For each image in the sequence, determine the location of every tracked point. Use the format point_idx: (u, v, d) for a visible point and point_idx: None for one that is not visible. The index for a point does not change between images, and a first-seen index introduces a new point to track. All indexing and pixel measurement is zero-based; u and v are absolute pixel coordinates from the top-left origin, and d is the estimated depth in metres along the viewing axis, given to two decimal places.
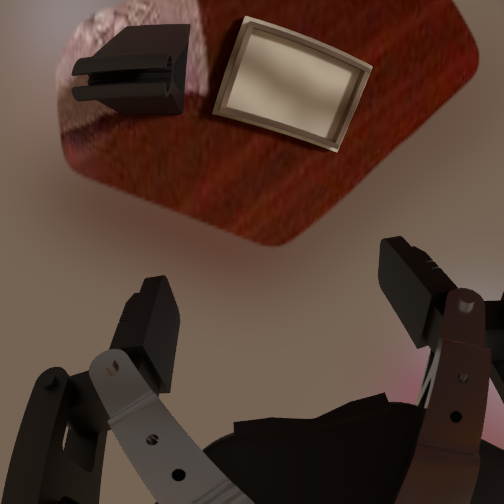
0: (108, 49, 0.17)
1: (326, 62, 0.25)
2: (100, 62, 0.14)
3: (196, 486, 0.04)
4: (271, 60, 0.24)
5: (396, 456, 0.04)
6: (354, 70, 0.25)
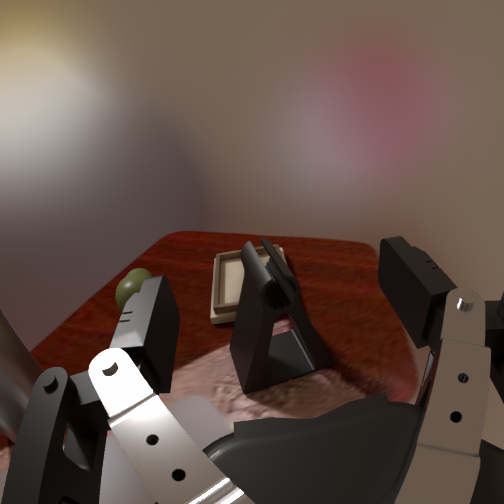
0: (256, 327, 0.24)
1: (225, 273, 0.42)
2: (256, 271, 0.23)
3: (196, 486, 0.04)
4: (239, 294, 0.38)
5: (396, 456, 0.04)
6: (223, 263, 0.45)
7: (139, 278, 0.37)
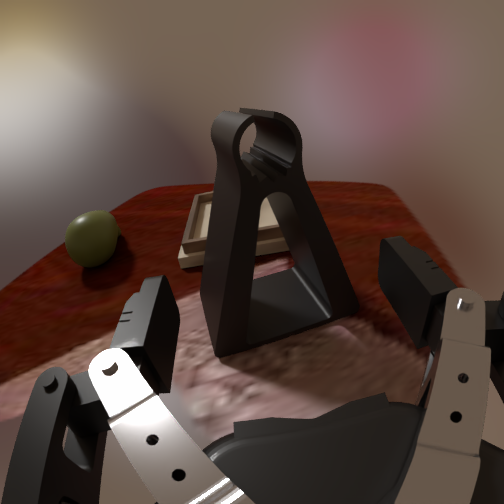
0: (230, 223, 0.14)
1: (204, 214, 0.33)
2: (229, 123, 0.13)
3: (196, 486, 0.04)
4: None
5: (396, 456, 0.04)
6: (202, 205, 0.35)
7: (95, 212, 0.28)
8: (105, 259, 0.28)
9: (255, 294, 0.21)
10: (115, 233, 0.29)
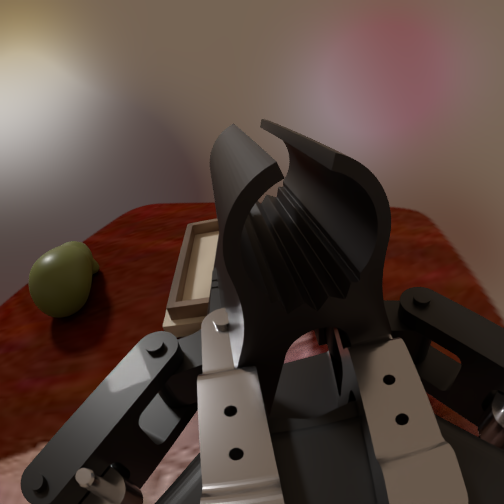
0: None
1: (199, 252, 0.25)
2: (229, 165, 0.06)
3: (245, 471, 0.04)
4: None
5: (360, 478, 0.04)
6: (197, 237, 0.28)
7: (62, 250, 0.21)
8: (76, 309, 0.21)
9: None
10: (87, 276, 0.22)
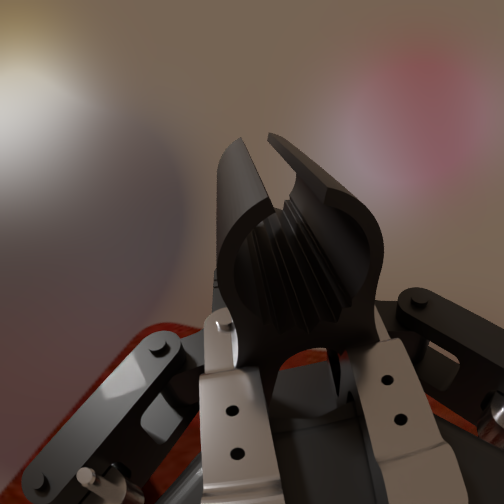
0: None
1: None
2: (228, 188, 0.06)
3: (246, 471, 0.04)
4: None
5: (359, 479, 0.04)
6: None
7: None
8: None
9: (275, 398, 0.14)
10: None
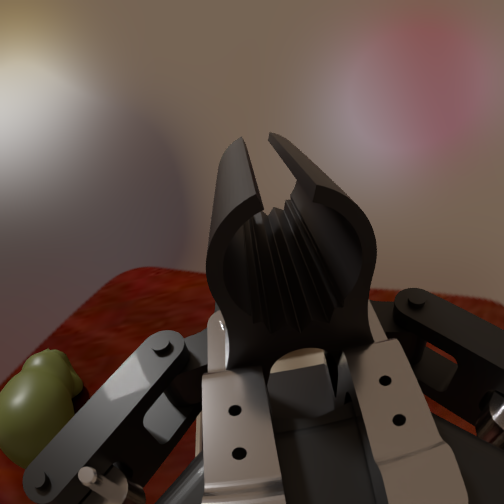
0: None
1: None
2: (223, 186, 0.06)
3: (248, 471, 0.04)
4: None
5: (358, 479, 0.04)
6: None
7: (26, 396, 0.12)
8: None
9: (274, 399, 0.14)
10: None
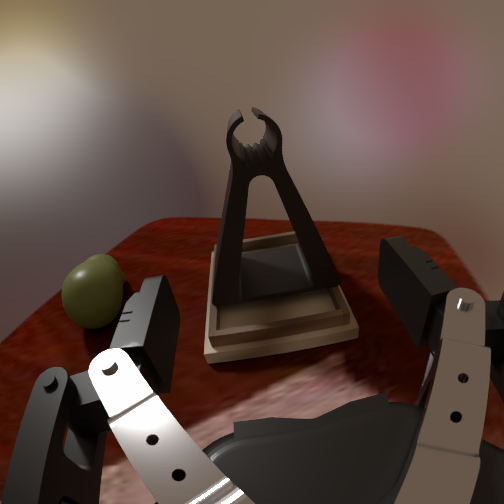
0: (228, 197, 0.18)
1: None
2: (231, 121, 0.17)
3: (196, 486, 0.04)
4: (254, 309, 0.22)
5: (396, 456, 0.04)
6: None
7: (94, 265, 0.24)
8: (110, 321, 0.24)
9: (258, 262, 0.25)
10: (120, 289, 0.25)
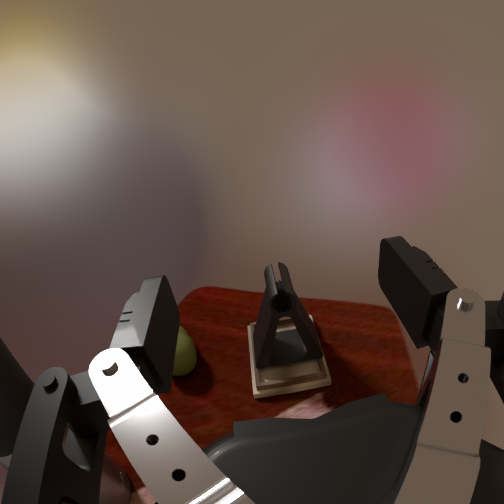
0: (267, 322, 0.36)
1: None
2: (270, 286, 0.35)
3: (196, 486, 0.04)
4: (277, 368, 0.40)
5: (396, 456, 0.04)
6: None
7: (180, 340, 0.42)
8: (191, 370, 0.42)
9: (278, 340, 0.42)
10: None
